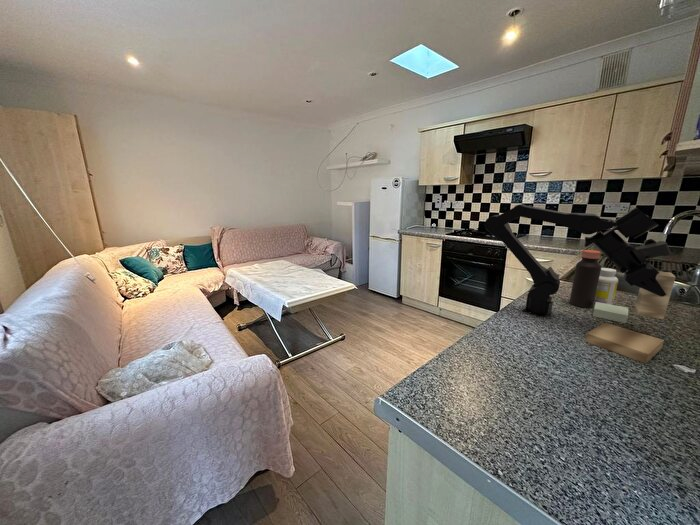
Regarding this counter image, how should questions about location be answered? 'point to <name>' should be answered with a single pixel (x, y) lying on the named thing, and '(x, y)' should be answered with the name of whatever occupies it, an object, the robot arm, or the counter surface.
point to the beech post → (655, 297)
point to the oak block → (625, 342)
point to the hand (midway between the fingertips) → (661, 292)
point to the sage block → (611, 312)
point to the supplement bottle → (606, 286)
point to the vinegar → (586, 279)
